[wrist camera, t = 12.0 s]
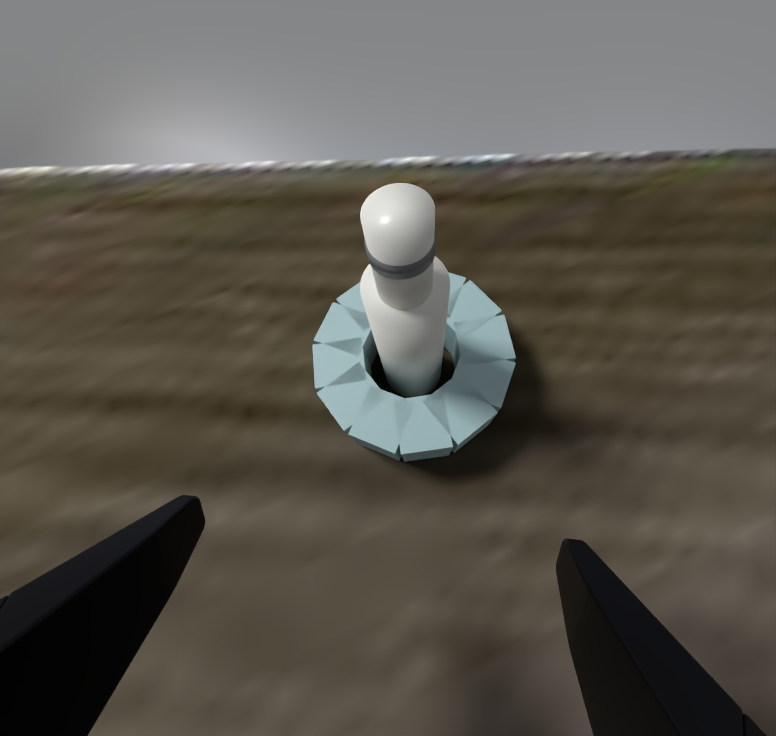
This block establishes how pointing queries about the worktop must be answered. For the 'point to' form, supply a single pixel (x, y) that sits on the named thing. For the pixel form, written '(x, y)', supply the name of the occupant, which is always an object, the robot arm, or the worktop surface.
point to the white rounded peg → (405, 287)
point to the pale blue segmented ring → (423, 413)
